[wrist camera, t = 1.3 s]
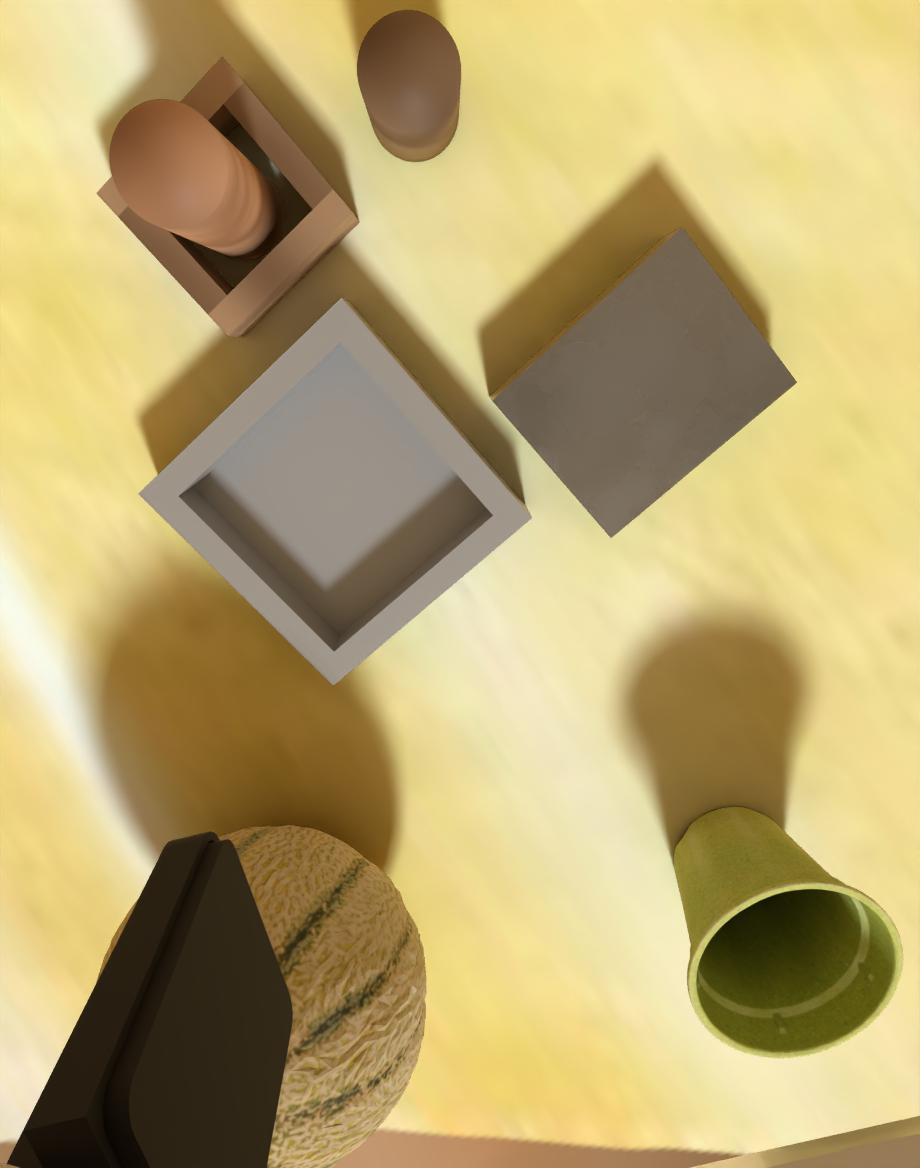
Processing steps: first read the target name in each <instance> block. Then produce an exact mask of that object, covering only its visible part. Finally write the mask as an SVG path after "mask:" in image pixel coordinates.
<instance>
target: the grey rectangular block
mask: <svg viewBox="0 0 920 1168" xmlns="http://www.w3.org/2000/svg"><path fill="white" fill-rule="evenodd" d="M796 383H797V382H796V380H795V379H794V378H793V376H792V375H791V373H790V372H789V371H788V369H787V368H786V367H785V365H784V364H783V363H782V361H781V360H780V359H779V357H778V356H777V355H776V353H775V352H774V351H773V349H772V348H771V346H770V345H769V344H768V342H767V341H766V340H765V338H764V337H763V336H762V334H761V333H760V332H759V330H758V329H757V328H756V326H755V325H754V324H753V322H752V321H751V319H750V318H749V317H748V315H747V314H746V313H745V311H744V310H743V309H742V307H741V306H740V305H739V303H738V302H737V301H736V299H735V298H734V297H733V295H732V294H731V292H730V291H729V290H728V288H727V287H726V286H725V284H724V283H723V282H722V280H721V279H720V278H719V276H718V275H717V274H716V272H715V271H714V270H713V268H712V267H711V265H710V264H709V263H708V261H707V260H706V259H705V257H704V256H703V255H702V253H701V252H700V251H699V249H698V248H697V247H696V245H695V244H694V243H693V241H692V240H691V238H690V237H689V236H688V234H687V233H686V232H685V230H684V229H683V228H680V229H677V230H675V231H673V232H671V233H669V234H667V235H665V236H664V237H663V238H662V239H661V240H659V241H658V242H657V243H656V244H655V245H654V246H653V247H652V248H651V249H650V250H649V251H647V252H646V253H645V254H644V255H643V256H642V257H641V258H640V259H639V260H638V261H636V262H635V263H634V264H633V265H632V266H631V267H630V268H629V269H628V270H627V271H626V272H624V273H623V274H622V275H621V276H620V277H619V278H618V279H617V280H616V281H615V282H614V283H612V284H611V285H610V286H609V287H608V288H607V289H606V290H605V291H604V292H603V293H602V294H600V295H599V296H598V297H597V298H596V299H595V300H594V301H593V302H592V303H591V304H590V305H588V306H587V307H586V308H585V309H584V310H583V311H582V312H581V313H580V314H579V315H578V316H576V317H575V318H574V319H573V320H572V321H571V322H570V323H569V324H568V325H567V326H566V327H564V328H563V329H562V330H561V331H560V332H559V333H558V334H557V335H556V336H555V337H554V338H552V339H551V340H550V341H549V342H548V343H547V344H546V345H545V346H544V347H543V348H542V349H540V350H539V351H538V352H537V353H536V354H535V355H534V356H533V357H532V358H531V359H529V360H528V361H527V362H526V363H525V364H524V365H523V366H522V367H521V368H520V369H519V370H517V371H516V372H515V373H514V374H513V375H512V376H511V377H510V378H509V379H508V380H507V381H505V382H504V383H503V384H502V385H501V386H500V387H499V388H498V389H497V390H496V391H495V392H493V393H492V394H491V395H490V396H489V397H490V399H491V400H492V401H493V402H494V403H495V404H496V406H497V407H498V408H499V409H500V410H501V411H502V413H503V414H504V415H505V416H506V417H507V418H508V419H509V421H510V422H511V423H512V424H513V425H514V426H515V428H516V429H517V430H518V431H519V432H520V433H521V435H522V436H523V437H524V438H525V439H526V440H527V441H528V443H529V444H530V445H531V446H532V447H533V448H534V450H535V451H536V452H537V453H538V454H539V455H540V456H541V458H542V459H543V460H544V461H545V462H546V463H547V465H548V466H549V467H550V468H551V469H552V470H553V472H554V473H555V474H556V475H557V476H558V477H559V478H560V480H561V481H562V482H563V483H564V484H565V485H566V487H567V488H568V489H569V490H570V491H571V492H572V493H573V495H574V496H575V497H576V498H577V499H578V500H579V502H580V503H581V504H582V505H583V506H584V507H585V509H586V510H587V511H588V512H589V513H590V514H591V515H592V517H593V518H594V519H595V520H596V521H597V522H598V524H599V525H600V526H601V527H602V528H603V529H604V530H605V532H606V533H607V534H608V535H609V536H610V537H611V538H612V537H613V536H614V535H615V534H617V533H618V532H619V531H620V530H621V529H623V528H624V527H625V526H626V525H627V524H629V523H630V522H631V521H632V520H633V519H635V518H636V517H637V516H638V515H639V514H641V513H642V512H643V511H644V510H645V509H646V508H648V507H649V506H650V505H651V504H652V503H654V502H655V501H656V500H657V499H658V498H660V497H661V496H662V495H663V494H664V493H666V492H667V491H668V490H669V489H670V488H672V487H673V486H674V485H675V484H676V483H678V482H679V481H680V480H681V479H682V478H683V477H685V476H686V475H687V474H688V473H689V472H691V471H692V470H693V469H694V468H695V467H697V466H698V465H699V464H700V463H701V462H703V461H704V460H705V459H706V458H707V457H709V456H710V455H711V454H712V453H713V452H715V451H716V450H717V449H718V448H719V447H720V446H722V445H723V444H724V443H725V442H726V441H728V440H729V439H730V438H731V437H732V436H734V435H735V434H736V433H737V432H738V431H740V430H741V429H742V428H743V427H744V426H746V425H747V424H748V423H749V422H750V421H752V420H753V419H754V418H755V417H756V416H757V415H759V414H760V413H761V412H762V411H763V410H765V409H766V408H767V407H768V406H769V405H771V404H772V403H773V402H774V401H775V400H777V399H778V398H779V397H780V396H781V395H783V394H784V393H785V392H786V391H787V390H789V389H790V388H791V387H792V386H793V385H794V384H796Z"/></svg>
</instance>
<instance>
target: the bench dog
mask: <svg viewBox="0 0 920 1168" xmlns="http://www.w3.org/2000/svg"><path fill="white" fill-rule="evenodd" d="M357 76H358V83H359V86H360V90H361V93H362V96H363V99H364V102H365V105H366V108H367V111H368V114H369V117H370V120H371V123H372V127H373V129H374V132H375V134H376V136H377V138H378V140H379V141H380V143H381V144H382V146H383V147H384V148H385V149H386V150H387V151H388V152H390V153H391V154H392V155H394V156H395V157H397V158H399V159H402V160H405V161H410V162H421V161H426V160H429V159H432V158H434V157H435V156H437V155H439V154H440V153H441V152H442V151H443V150H444V149H445V148H446V147H447V146H448V145H449V143H450V142H451V140H452V138H453V136H454V134H455V132H456V129H457V125H458V118H459V102H460V85H461V63H460V57H459V53H458V50H457V47H456V44H455V42H454V40H453V38H452V37H451V35H450V34H449V32H448V31H447V30H446V28H445V27H444V26H443V25H442V24H441V23H440V22H439V21H437V20H436V19H434V18H433V17H431V16H429V15H427V14H425V13H422V12H419V11H413V10H403V11H397V12H394V13H391V14H389V15H387V16H385V17H383V18H382V19H380V20H379V21H378V22H377V23H375V24H374V25H373V26H372V28H371V29H370V30H369V31H368V33H367V34H366V36H365V38H364V40H363V42H362V44H361V47H360V50H359V55H358V61H357Z"/></svg>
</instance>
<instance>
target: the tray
mask: <svg viewBox="0 0 920 1168" xmlns="http://www.w3.org/2000/svg"><path fill="white" fill-rule="evenodd" d="M139 495H140V496H141V497H142V498H143V499H144V500H145V501H146V502H147V503H148V504H149V505H150V506H151V507H152V508H153V509H154V510H155V511H156V512H157V513H158V514H159V515H160V516H161V517H162V518H163V519H164V520H165V521H166V522H167V523H168V524H169V525H171V526H172V527H173V528H174V529H175V530H176V531H177V532H178V533H179V534H180V535H181V536H182V537H183V538H184V539H185V540H186V541H187V542H188V543H189V544H190V545H191V546H192V547H193V548H194V549H195V550H196V551H197V552H198V553H199V554H200V555H201V556H202V557H203V558H204V559H205V560H206V561H207V562H208V563H209V564H210V565H211V566H212V567H213V568H214V569H215V570H216V571H217V572H218V573H219V574H220V575H221V576H222V577H223V578H224V579H225V580H226V581H227V582H228V583H229V584H230V585H231V586H232V587H233V588H234V589H235V590H236V591H238V592H239V593H240V594H241V595H242V596H243V597H244V598H245V599H246V600H247V601H248V602H249V603H250V604H251V605H252V606H253V607H254V608H255V609H256V610H257V611H258V612H259V613H260V614H261V615H262V616H263V617H264V618H265V619H266V620H267V621H268V622H269V623H270V624H271V625H272V626H273V627H274V628H275V629H276V630H277V631H278V632H279V633H280V634H281V635H282V636H283V637H284V638H285V639H286V640H287V641H288V642H289V643H290V644H291V645H292V646H293V647H294V648H295V649H296V650H297V651H298V652H299V653H300V654H301V655H302V656H303V657H305V658H306V659H307V660H308V661H309V662H310V663H311V664H312V665H313V666H314V667H315V668H316V669H317V670H318V671H319V672H320V673H321V674H322V675H323V676H324V677H325V678H326V679H327V680H328V681H329V682H330V683H331V684H332V685H333V686H334V685H335V684H336V683H337V682H338V681H340V680H341V679H342V678H343V677H344V676H346V675H347V674H348V673H349V672H350V671H351V670H353V669H354V668H355V667H356V666H357V665H359V664H360V663H361V662H362V661H363V660H364V659H366V658H367V657H368V656H369V655H370V654H372V653H373V652H374V651H375V650H376V649H378V648H379V647H380V646H381V645H382V644H383V643H385V642H386V641H387V640H388V639H389V638H391V637H392V636H393V635H394V634H395V633H396V632H398V631H399V630H400V629H401V628H402V627H404V626H405V625H406V624H407V623H408V622H409V621H411V620H412V619H413V618H414V617H415V616H417V615H418V614H419V613H420V612H421V611H422V610H424V609H425V608H426V607H427V606H428V605H430V604H431V603H432V602H433V601H434V600H436V599H437V598H438V597H439V596H440V595H441V594H443V593H444V592H445V591H446V590H447V589H449V588H450V587H451V586H452V585H453V584H454V583H456V582H457V581H458V580H459V579H460V578H462V577H463V576H464V575H465V574H466V573H467V572H469V571H470V570H471V569H472V568H473V567H475V566H476V565H477V564H478V563H479V562H480V561H482V560H483V559H484V558H485V557H486V556H488V555H489V554H490V553H491V552H492V551H494V550H495V549H496V548H497V547H498V546H499V545H501V544H502V543H503V542H504V541H505V540H507V539H508V538H509V537H510V536H511V535H512V534H514V533H515V532H516V531H517V530H518V529H520V528H521V527H522V526H523V525H524V524H525V523H527V522H528V521H529V520H530V519H531V518H532V517H531V515H530V513H529V511H528V509H527V507H526V505H525V504H524V503H523V502H522V501H521V500H520V499H519V497H518V496H517V495H516V494H515V493H514V492H513V490H512V489H511V488H510V487H509V486H508V485H507V483H506V482H505V481H504V480H503V479H502V478H501V477H500V475H499V474H498V473H497V472H496V471H495V470H494V468H493V467H492V466H491V465H490V464H489V463H488V462H487V460H486V459H485V458H484V457H483V456H482V455H481V453H480V452H479V451H478V450H477V449H476V448H475V446H474V445H473V444H472V443H471V442H470V441H469V440H468V438H467V437H466V436H465V435H464V434H463V433H462V431H461V430H460V429H459V428H458V427H457V426H456V424H455V423H454V422H453V421H452V420H451V419H450V418H449V416H448V415H447V414H446V413H445V412H444V411H443V409H442V408H441V407H440V406H439V405H438V404H437V403H436V401H435V400H434V399H433V398H432V397H431V396H430V394H429V393H428V392H427V391H426V390H425V389H424V387H423V386H422V385H421V384H420V383H419V382H418V381H417V379H416V378H415V377H414V376H413V375H412V374H411V372H410V371H409V370H408V369H407V368H406V367H405V366H404V364H403V363H402V362H401V361H400V360H399V359H398V357H397V356H396V355H395V354H394V353H393V352H392V350H391V349H390V348H389V347H388V346H387V345H386V344H385V342H384V341H383V340H382V339H381V338H380V337H379V335H378V334H377V333H376V332H375V331H374V330H373V328H372V327H371V326H370V325H369V324H368V323H367V322H366V320H365V319H364V318H363V317H362V316H361V315H360V313H359V312H358V311H357V310H356V309H355V308H354V307H353V305H352V304H351V303H350V302H349V301H347V300H345V299H343V298H340V299H339V300H338V301H337V302H336V303H335V304H334V305H333V306H332V307H331V308H330V309H329V310H328V311H327V312H326V313H325V314H324V315H323V316H322V317H321V318H320V319H319V320H318V321H317V322H316V323H315V324H314V325H313V326H311V327H310V328H309V329H308V330H307V331H306V332H305V333H304V334H303V335H302V336H301V337H300V338H299V339H298V340H297V341H296V342H295V343H294V344H293V345H292V346H291V347H290V348H289V349H288V350H287V351H286V352H285V353H284V354H283V355H281V356H280V357H279V358H278V359H277V360H276V361H275V362H274V363H273V364H272V365H271V366H270V367H269V368H268V369H267V370H266V371H265V372H264V373H263V374H262V375H261V376H260V377H259V378H258V379H257V380H256V381H255V382H254V383H252V384H251V385H250V386H249V387H248V388H247V389H246V390H245V391H244V392H243V393H242V394H241V395H240V396H239V397H238V398H237V399H236V400H235V401H234V402H233V403H232V404H231V405H230V406H229V407H228V408H227V409H226V410H225V411H224V412H222V413H221V414H220V415H219V416H218V417H217V418H216V419H215V420H214V421H213V422H212V423H211V424H210V425H209V426H208V427H207V428H206V429H205V430H204V431H203V432H202V433H201V434H200V435H199V436H198V437H197V438H196V439H195V440H193V441H192V442H191V443H190V444H189V445H188V446H187V447H186V448H185V449H184V450H183V451H182V452H181V453H180V454H179V455H178V456H177V457H176V458H175V459H174V460H173V461H172V462H171V463H170V464H169V465H168V466H167V467H166V468H165V469H163V470H162V471H161V472H160V473H159V474H158V475H157V476H156V477H155V478H154V479H153V480H152V481H151V482H150V483H149V484H148V485H147V486H146V487H145V488H144V489H143V490H142V491H141V492H140V493H139Z"/></svg>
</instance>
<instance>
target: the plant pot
mask: <svg viewBox="0 0 920 1168" xmlns="http://www.w3.org/2000/svg"><path fill="white" fill-rule="evenodd" d="M674 869H675V874H676V878H677V883H678V887H679V891H680V895H681V899H682V904H683V909H684V913H685V918H686V923H687V928H688V933H689V938H690V943H691V947H690V960H689V964H688V971H687V985H688V992H689V997H690V1000H691V1003H692V1005H693V1008H694V1010H695V1013H696V1014H697V1016H698V1018H699V1020H700V1021H701V1022H702V1024H703V1025H704V1026H705V1027H706V1028H707V1030H708V1031H709V1032H710V1033H711V1034H713V1035H714V1036H715V1037H716V1038H717V1039H719V1040H720V1041H721V1042H723V1043H725V1044H726V1045H728V1046H730V1047H732V1048H734V1049H737V1050H739V1051H741V1052H744V1053H747V1054H751V1055H755V1056H761V1057H768V1058H793V1057H803V1056H809V1055H812V1054H816V1053H819V1052H822V1051H825V1050H828V1049H830V1048H832V1047H835V1046H838V1045H840V1044H842V1043H844V1042H846V1041H848V1040H849V1039H850V1038H852V1037H854V1036H855V1035H857V1034H858V1033H860V1032H861V1031H863V1030H864V1029H865V1028H867V1027H868V1026H869V1025H870V1024H871V1023H872V1022H873V1021H874V1020H875V1019H876V1018H877V1017H878V1016H879V1015H880V1014H881V1013H882V1012H883V1010H884V1009H885V1008H886V1007H887V1005H888V1004H889V1002H890V1001H891V999H892V997H893V995H894V993H895V991H896V988H897V984H898V982H899V979H900V977H901V972H902V967H903V949H902V945H901V940H900V936H899V933H898V931H897V929H896V927H895V925H894V923H893V921H892V920H891V918H890V917H889V916H888V914H887V913H886V912H885V911H884V910H883V909H882V908H881V907H880V906H879V905H878V904H877V903H876V902H875V901H874V900H873V899H871V898H870V897H869V896H867V895H866V894H864V893H863V892H861V891H859V890H857V889H855V888H852V887H850V886H847V885H845V884H844V883H843V882H841V881H839V880H838V879H836V878H834V877H832V876H831V875H830V874H829V873H827V872H826V871H825V870H824V869H823V868H822V867H821V866H820V865H819V864H818V863H817V862H816V861H815V860H814V859H813V858H811V857H810V856H809V855H808V854H807V853H806V852H805V851H804V850H803V849H802V848H801V847H800V846H799V845H798V844H797V843H796V842H795V841H794V840H793V839H792V838H791V837H790V836H789V835H788V834H786V833H785V832H784V831H783V830H782V829H781V828H780V827H779V826H778V825H777V824H776V823H775V822H774V821H773V820H772V819H770V818H769V817H767V816H765V815H763V814H760V813H758V812H756V811H753V810H751V809H748V808H744V807H726V808H721V809H717V810H714V811H711V812H709V813H707V814H705V815H703V816H701V817H699V818H698V819H696V820H695V821H694V822H693V823H691V825H690V826H689V828H688V830H687V831H686V833H685V835H684V836H683V838H682V839H681V841H680V842H679V843H678V845H677V846H676V848H675V852H674Z"/></svg>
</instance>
